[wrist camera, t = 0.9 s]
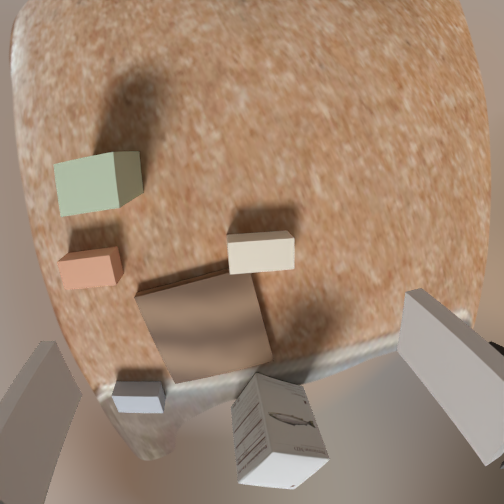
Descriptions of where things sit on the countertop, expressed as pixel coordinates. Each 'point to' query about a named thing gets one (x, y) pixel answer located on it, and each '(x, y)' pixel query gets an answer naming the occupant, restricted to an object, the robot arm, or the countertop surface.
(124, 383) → the slate brick
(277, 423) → the supplement box
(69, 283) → the terracotta brick
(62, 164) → the sage brick
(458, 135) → the countertop surface
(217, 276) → the walnut board
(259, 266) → the cream brick
